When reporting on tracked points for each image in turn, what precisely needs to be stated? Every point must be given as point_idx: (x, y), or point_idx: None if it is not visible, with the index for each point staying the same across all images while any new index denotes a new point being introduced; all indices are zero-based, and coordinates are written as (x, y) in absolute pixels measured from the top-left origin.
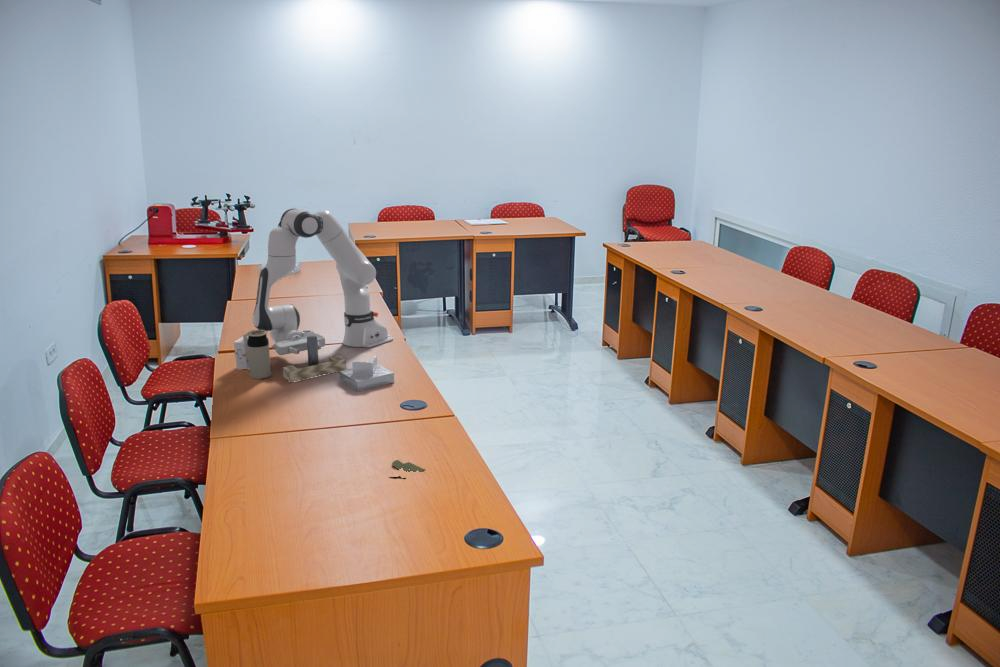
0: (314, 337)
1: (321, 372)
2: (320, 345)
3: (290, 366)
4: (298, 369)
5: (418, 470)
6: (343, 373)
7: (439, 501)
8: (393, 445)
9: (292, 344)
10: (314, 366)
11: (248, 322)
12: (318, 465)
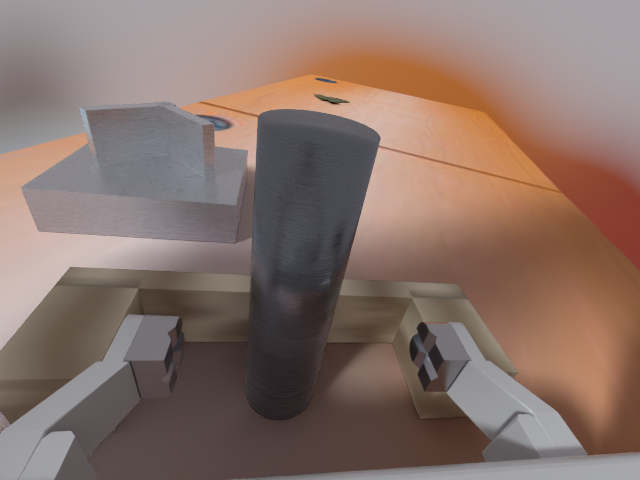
0: (293, 118)
1: None
2: (134, 316)
3: None
4: (410, 289)
5: (320, 96)
6: (238, 189)
7: (329, 89)
8: (316, 110)
9: (548, 477)
10: None
11: None
12: (408, 125)
